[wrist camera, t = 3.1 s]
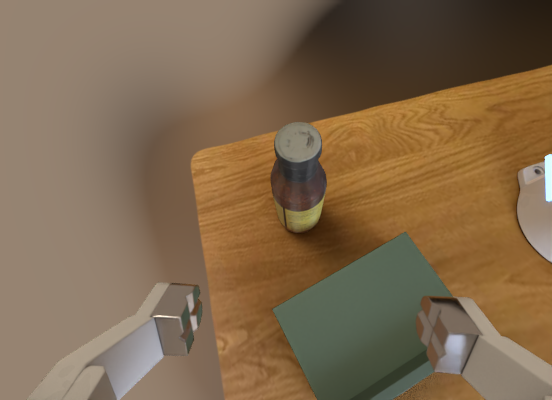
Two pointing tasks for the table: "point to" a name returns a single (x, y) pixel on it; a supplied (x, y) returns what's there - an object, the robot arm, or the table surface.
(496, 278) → the table surface
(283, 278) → the table surface
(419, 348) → the shelf
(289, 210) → the sauce bottle
